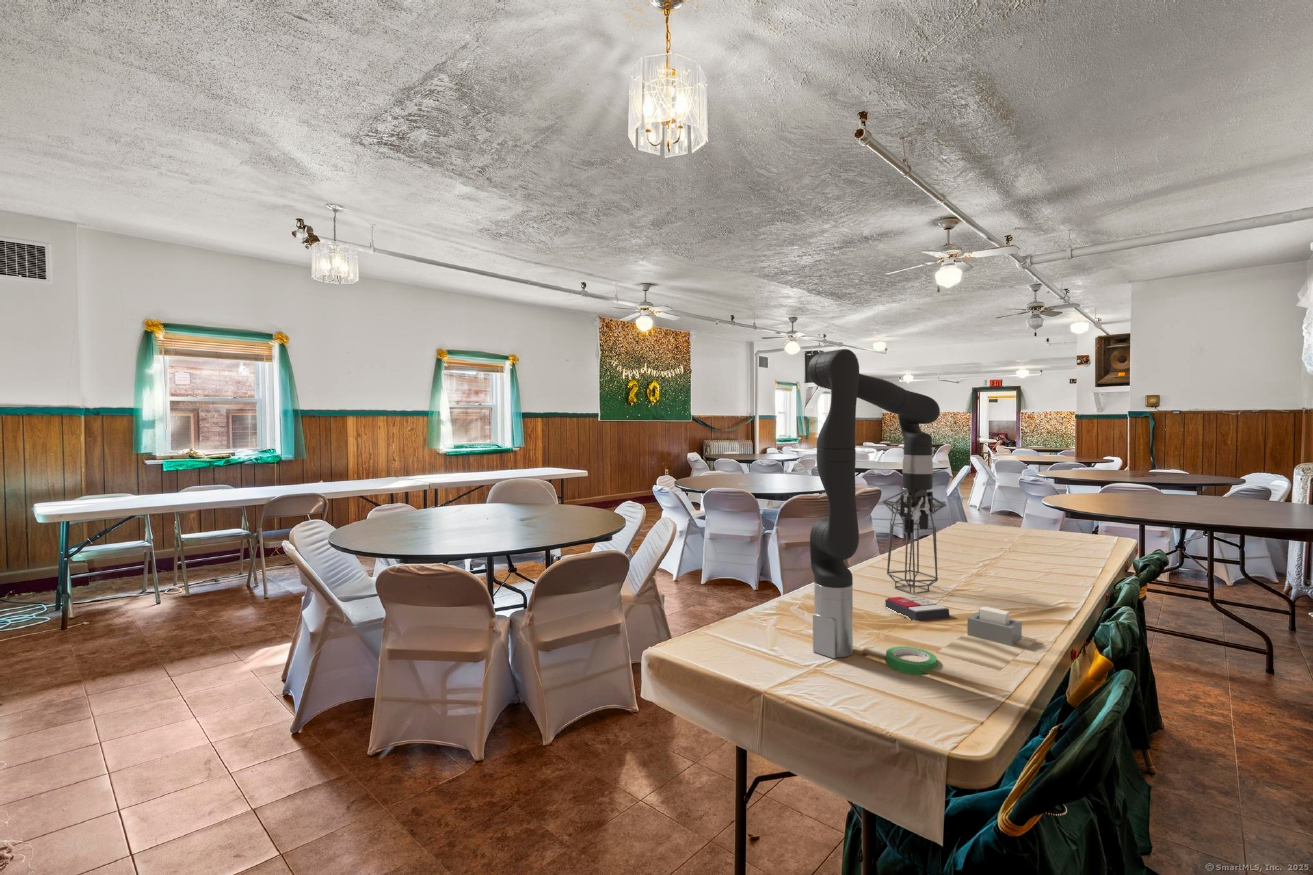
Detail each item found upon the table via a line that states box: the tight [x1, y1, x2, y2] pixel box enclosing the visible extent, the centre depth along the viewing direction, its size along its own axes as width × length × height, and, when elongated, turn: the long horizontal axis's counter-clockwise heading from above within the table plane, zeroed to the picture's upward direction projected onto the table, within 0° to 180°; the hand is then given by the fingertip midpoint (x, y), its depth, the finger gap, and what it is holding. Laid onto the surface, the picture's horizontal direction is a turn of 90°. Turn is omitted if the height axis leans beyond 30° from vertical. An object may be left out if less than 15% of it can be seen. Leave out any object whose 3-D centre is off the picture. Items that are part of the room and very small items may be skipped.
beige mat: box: [935, 632, 1037, 672], centre depth 145 cm, size 27×14×1 cm, turn 131°
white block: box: [978, 605, 1010, 626], centre depth 151 cm, size 3×6×6 cm, turn 42°
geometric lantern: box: [881, 489, 947, 594], centre depth 196 cm, size 16×16×35 cm
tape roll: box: [885, 646, 938, 676], centre depth 137 cm, size 11×11×3 cm
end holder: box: [966, 611, 1023, 646], centre depth 151 cm, size 7×10×4 cm
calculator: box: [884, 595, 950, 622], centre depth 172 cm, size 11×4×15 cm
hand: (916, 530), depth 157 cm, fingers open, 8 cm apart
